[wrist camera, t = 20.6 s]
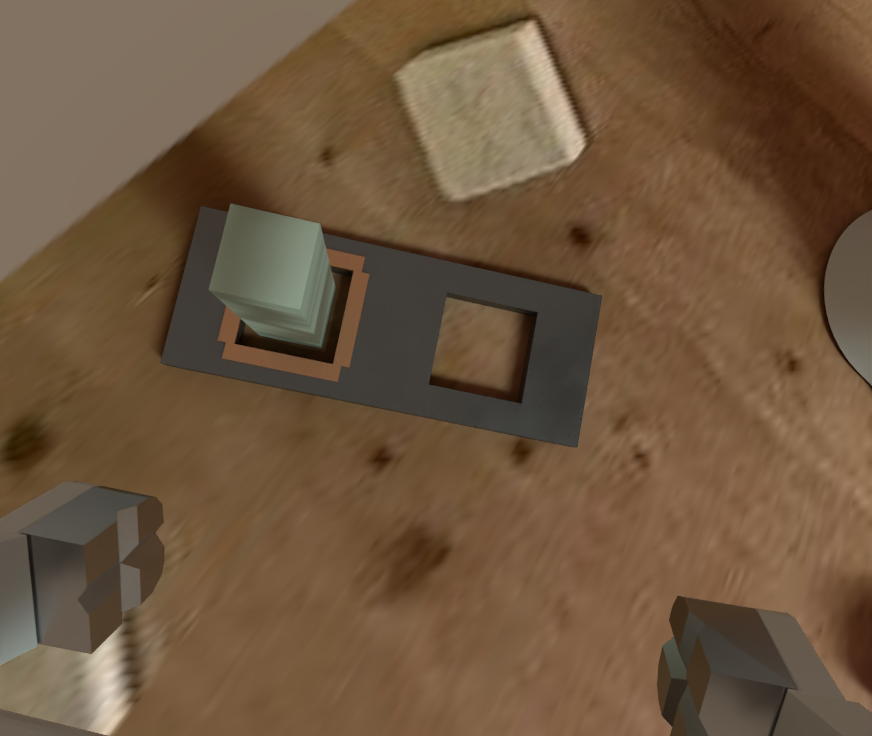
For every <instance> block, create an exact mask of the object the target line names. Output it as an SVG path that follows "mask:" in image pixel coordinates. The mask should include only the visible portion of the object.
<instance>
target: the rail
mask: <svg viewBox="0 0 872 736" xmlns="http://www.w3.org/2000/svg"><path fill="white" fill-rule="evenodd" d="M227 215H228V212H226V211H221V210H217V209H213V208H208V207H204V206H201V208H200V212H199V216H198V220H197V223H196V227H195V231H194V235H193V239H192V243H191V247H190V250H189V254H188V258H187V262H186V266H185V270H184V274H183V277H182V281H181V285H180V289H179V293H178V297H177V300H176V304H175V308H174V312H173V316H172V320H171V324H170V327H169V331H168V335H167V339H166V343H165V347H164V351H163V354H162V358H161V362H160V363H161V364H164V365H167V366H172V367H177V368H182V369H187V370H192V371H197V372H202V373H207V374H212V375H217V376H222V377H227V378H232V379H237V380H242V381H247V382H252V383H256V384H261V385H266V386H271V387H276V388H281V389H286V390H291V391H296V392H301V393H306V394H311V395H316V396H321V397H326V398H331V399H336V400H341V401H346V402H351V403H356V404H361V405H365V406H370V407H375V408H380V409H385V410H390V411H395V412H400V413H405V414H410V415H415V416H420V417H425V418H430V419H435V420H440V421H445V422H450V423H455V424H460V425H465V426H470V427H474V428H479V429H484V430H489V431H494V432H499V433H504V434H509V435H514V436H519V437H524V438H529V439H534V440H539V441H544V442H549V443H554V444H559V445H564V446H569V447H577V446H578V440H579V434H580V428H581V422H582V416H583V410H584V404H585V397H586V391H587V385H588V379H589V373H590V367H591V361H592V355H593V349H594V342H595V336H596V330H597V324H598V318H599V312H600V306H601V300H602V296H601V295H597V294H592V293H588V292H583V291H579V290H574V289H570V288H565V287H561V286H557V285H552V284H548V283H543V282H539V281H534V280H530V279H525V278H521V277H516V276H512V275H507V274H503V273H498V272H494V271H490V270H485V269H481V268H476V267H472V266H467V265H463V264H458V263H454V262H449V261H445V260H440V259H436V258H431V257H427V256H423V255H418V254H414V253H409V252H405V251H400V250H396V249H391V248H387V247H382V246H378V245H373V244H369V243H364V242H360V241H356V240H351V239H347V238H342V237H338V236H333V235H329V234H324V233H323V238H324V242H325V246H326V250H327V254H328V258H329V262H330V267H331V271H332V272H335V273H339V274H344V275H349V276H352V280H351V285H350V290H349V294H348V299H347V303H346V308H345V312H344V317H343V321H342V326H341V330H340V335H339V339H338V344H337V348H336V353H335V357H334V362H333V364H330V363H325V362H320V361H315V360H310V359H305V358H301V357H296V356H291V355H286V354H281V353H276V352H272V351H267V350H262V349H257V348H252V347H247V346H243V345H240V344H241V340H242V336H243V332H244V327H245V322H244V321H243V320H241V319H240V318H239V317H238V316H237V315H236V314H235V313H234V312H233V311H231V310H230V309H229V308H228V307H227V306H226V305H225V304H224V303H223V302H221V301H220V300H219V299H218V298H217V297H216V296H215V295H214V294H213V293H211V292H210V291H209V286H210V282H211V278H212V274H213V270H214V266H215V263H216V259H217V255H218V251H219V247H220V243H221V239H222V235H223V231H224V227H225V223H226V219H227ZM446 297H449V298H454V299H458V300H463V301H467V302H472V303H477V304H481V305H486V306H490V307H495V308H499V309H504V310H509V311H513V312H518V313H522V314H527V315H531V316H533V319H532V325H531V330H530V336H529V341H528V347H527V353H526V358H525V364H524V369H523V375H522V381H521V386H520V392H519V397H518V403H516V402H511V401H506V400H502V399H497V398H492V397H487V396H482V395H477V394H473V393H468V392H463V391H458V390H453V389H448V388H443V387H439V386H434V385H429V381H430V376H431V371H432V366H433V360H434V355H435V350H436V345H437V340H438V335H439V330H440V325H441V320H442V315H443V310H444V305H445V300H446Z"/></svg>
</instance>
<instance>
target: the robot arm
mask: <svg viewBox="0 0 872 736" xmlns="http://www.w3.org/2000/svg"><path fill="white" fill-rule="evenodd" d="M824 298H825V307H826V313H827V317H828V321H829V324H830V327H831V330H832V333H833V335H834V337H835V339H836V342H837V344H838V345H839V347H840V349H841V351H842V352H843V354H844V355H845V357H846V358H847V359H848V361H849V362H850V363H851V365H852V366H853V367H854V368H855V369H856V370H857V371H858V372H859V373H860V374H861V375H862V376H863V377H864V378H865V379H866V380H867V381H868V382H869V383H870V385H871V386H872V210H870V211H868V212H867V213H865V214H863V215H862V216H860V217H859V218H857V219H856V220H855V221H854V222H853V223H851V224H850V225H849V227H848V228H847V229H846V230H845V231H844V232H843V233H842V235H841V236H840V238H839V239H838V241H837V242H836V244H835V246H834V248H833V250H832V253H831V255H830V258H829V261H828V264H827V269H826V274H825V283H824ZM163 523H164V520H163V506H162V503H161V502H160V501H159V500H158V499H157V498H156V497H153V496H148V495H143V494H138V493H134V492H129V491H124V490H119V489H115V488H110V487H105V486H99V485H96V484H91V483H85V482H79V481H65V482H63V483H61V484H59V485H58V486H56V487H54V488H53V489H51V490H49V491H47V492H46V493H44V494H42V495H40V496H39V497H37V498H35V499H33V500H32V501H30V502H28V503H27V504H25V505H23V506H21V507H20V508H18V509H16V510H14V511H13V512H11V513H9V514H7V515H6V516H4V517H2V518H1V519H0V665H2V664H4V663H6V662H8V661H10V660H12V659H14V658H16V657H18V656H20V655H22V654H24V653H26V652H28V651H30V650H32V649H34V648H36V647H37V646H38V644H42V645H47V646H53V647H58V648H63V649H68V650H73V651H78V652H83V653H89V654H92V653H93V652H94V651H95V650H96V649H97V648H98V647H99V646H100V645H101V644H102V643H103V642H104V641H105V640H106V639H107V638H108V637H109V636H110V635H111V634H112V633H113V632H114V631H115V630H116V629H117V628H118V627H119V626H120V625H121V624H122V612H124V611H126V610H129V609H131V608H134V607H136V606H139V605H141V604H142V603H143V602H144V601H145V600H146V599H147V598H148V597H149V596H150V595H151V593H152V592H153V591H154V589H155V587H156V585H157V583H158V581H159V579H160V577H161V575H162V570H163V565H164V545H163V544H162V542H161V541H160V539H159V538H158V536H157V535H156V533H155V532H156V531H157V530H158V529H159V527H160V526H161V525H162V524H163ZM669 621H670V625H671V628H672V632H673V635H674V637H673V638H672V639H671V640H669V641H668V642H667V643H665V644H664V645H663V646H662V651H661V655H660V660H659V665H658V679H657V689H658V700H659V705H660V710H661V714H662V716H663V718H664V719H665V720H666V721H667V722H668V723H669V724H670V725H671V726H672V730H671V734H670V736H872V713H871V712H870V711H869V710H867V709H866V708H865V707H863V706H862V705H861V704H859V703H855V702H851V701H846V700H845V698H844V696H843V695H842V693H841V692H840V690H839V688H838V687H837V685H836V684H835V682H834V680H833V679H832V677H831V675H830V674H829V672H828V671H827V669H826V667H825V666H824V664H823V663H822V661H821V659H820V658H819V656H818V654H817V653H816V651H815V650H814V648H813V646H812V645H811V643H810V641H809V640H808V638H807V637H806V635H805V633H804V632H803V630H802V629H801V627H800V625H799V624H798V622H797V620H796V619H795V618H794V617H793V616H791V615H790V614H788V613H784V612H777V611H770V610H764V609H757V608H748V607H742V606H736V605H730V604H724V603H718V602H712V601H706V600H700V599H693V598H687V597H681V596H677V598H676V600H675V602H674V604H673V607H672V610H671V614H670V618H669ZM0 736H107V735H103V734H99V733H95V732H91V731H87V730H83V729H78V728H74V727H70V726H66V725H62V724H58V723H54V722H50V721H46V720H42V719H38V718H34V717H30V716H26V715H22V714H18V713H14V712H10V711H6V710H2V709H0Z"/></svg>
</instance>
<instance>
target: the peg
mask: <svg viewBox="0 0 872 736" xmlns="http://www.w3.org/2000/svg"><path fill="white" fill-rule="evenodd" d="M335 290H336V287H335V283H334V279H333V275H332V271H331V267H330V262H329V258H328V254H327V250H326V246H325V242H324V238H323V233H322V229H321V225H320V224H319V223H315V222H310V221H306V220H301V219H297V218H293V217H288V216H284V215H279V214H275V213H270V212H266V211H262V210H257V209H253V208H248V207H244V206H240V205H235V204H230V208H229V211H228V215H227V219H226V223H225V227H224V231H223V235H222V239H221V243H220V247H219V251H218V255H217V259H216V263H215V266H214V270H213V274H212V278H211V282H210V286H209V291H210V292H211V293H213V294H214V295H215V296H216V297H217V298H218V299H219V300H220V301H221V302H223V303H224V304H225V305H226V306H227V307H228V308H229V309H230V310H231V311H233V312H234V313H235V314H236V315H237V316H238V317H239V318H240V319H241V320H243V321H244V322H245V323H246V324H247V325H248V326H249V327H250V328H252V329H253V330H254V331H255V332H256V333H257V334H258V335H259V336H264V337H269V338H273V339H278V340H283V341H288V342H293V343H297V344H302V345H307V346H312V347H316V348H321V349H322V348H323V343H324V339H325V334H326V330H327V325H328V321H329V317H330V312H331V308H332V303H333V299H334V294H335Z"/></svg>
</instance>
